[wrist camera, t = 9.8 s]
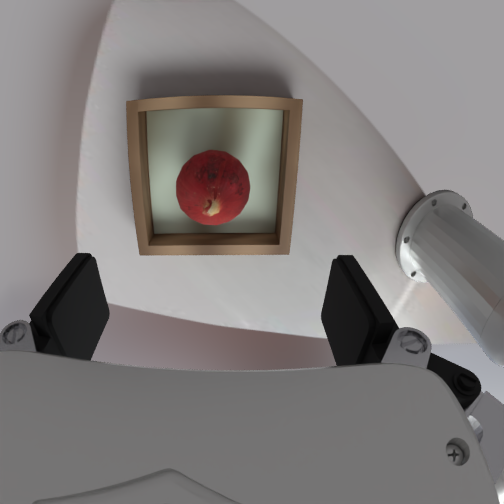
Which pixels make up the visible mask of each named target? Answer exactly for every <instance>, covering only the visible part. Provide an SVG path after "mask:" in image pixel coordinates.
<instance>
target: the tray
mask: <svg viewBox="0 0 504 504" xmlns="http://www.w3.org/2000/svg"><path fill="white" fill-rule="evenodd" d="M302 105H303V99H293V98H280V97H264V96H235V95H208V96H180V97H164V98H152V99H142V100H132V101H126V110H127V139H128V157H129V170H130V182H131V192H132V202H133V210H134V219H135V226H136V234H137V241H138V247H139V254H140V255H289V252H290V243H291V234H292V224H293V214H294V204H295V194H296V183H297V172H298V160H299V147H300V134H301V120H302ZM207 150H219V151H226V152H227V153H229V154H231V155H232V156H234V157H235V158H237V159H238V160H240V162H241V163H242V165H243V166H244V167H245V169H246V170H247V172H248V175H249V180H250V193H249V200H248V202H247V204H246V205H245V207H244V209H243V210H242V212H241V213H240V214H239V215H238V216H236V217H235V218H234V219H232V220H231V221H229V222H226V223H223V224H219V225H204V224H201V223H199V222H196V221H194V220H192V219H190V218H189V217H188V216H187V215H186V214H185V213H184V212H183V211H182V210H181V209H180V206H179V203H178V200H177V197H176V180H177V177H178V175H179V173H180V170H181V168H182V166H183V165H184V164H185V163H186V162H187V161H188V160H189V159H190V158H191V157H192V156H193V155H196V154H199V153H201V152H204V151H207Z"/></svg>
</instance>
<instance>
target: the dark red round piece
mask: <svg viewBox="0 0 504 504" xmlns="http://www.w3.org/2000/svg"><path fill="white" fill-rule="evenodd" d="M249 193H250V180H249V175H248V172H247V170H246V169H245V167H244V166H243V165H242V163H241V162H240V160H238V159H237V158H235V157H234V156H232V155H231V154H229V153H227V152H226V151H219V150H207V151H204V152H201V153H199V154H196V155H193V156H192V157H191V158H190V159H189V160H188V161H187V162H186V163H185V164H184V165H183V166H182V168H181V170H180V173H179V175H178V177H177V180H176V197H177V200H178V203H179V206H180V209H181V210H182V211H183V212H184V213H185V214H186V215H187V216H188V217H189V218H190V219H192V220H194V221H196V222H199V223H201V224H204V225H219V224H223V223H226V222H229V221H231V220H232V219H234V218H235V217H236V216H238V215H239V214H240V213H241V212H242V210H243V209H244V207H245V205H246V204H247V202H248V200H249Z"/></svg>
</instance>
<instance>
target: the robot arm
mask: <svg viewBox="0 0 504 504" xmlns="http://www.w3.org/2000/svg"><path fill="white" fill-rule="evenodd" d="M396 257H397V261H398V264H399V266H400V268H401V270H402V271H403V272H404V273H405V275H406V276H407V277H408V278H410V279H411V280H414V281H416V282H429V283H430V285H431V286H432V287H433V288H434V289H435V290H436V292H437V293H438V294H439V295H440V296H441V297H442V299H443V300H444V301H445V302H446V303H447V305H448V306H449V307H450V308H451V310H452V311H453V312H454V313H455V315H456V316H457V317H458V318H459V320H460V321H461V322H462V323H463V325H464V326H465V327H466V328H467V330H468V331H469V332H470V334H471V335H472V336H473V338H474V339H475V340H476V342H477V343H478V344H479V346H480V347H481V348H482V349H483V351H484V352H485V354H486V355H487V356H488V357H489V359H490V360H491V361H492V362H494V363H495V364H497V365H498V366H501V367H504V240H502V239H501V238H500V237H498V236H497V235H496V234H494V233H493V232H492V231H490V230H489V229H488V228H486V227H485V226H483V225H482V224H481V223H479V222H478V221H476V220H475V219H473V215H472V211H471V208H470V206H469V204H468V202H467V201H466V200H465V199H464V198H463V197H462V196H460V195H459V194H457V193H455V192H453V191H449V190H439V191H436V192H433V193H430V194H428V195H427V196H425V197H423V198H422V199H421V200H420V201H419V202H418V203H416V204H415V206H414V207H413V208H412V209H411V210H410V212H409V213H408V215H407V216H406V218H405V219H404V221H403V224H402V226H401V228H400V231H399V234H398V238H397V244H396ZM29 316H30V318H31V322H30V323H28V322H27V321H23V320H17V321H14V322H12V323H10V324H8V325H7V326H6V327H5V328H4V329H3V330H2V331H1V333H0V504H504V405H503V404H502V403H501V402H500V401H498V400H497V399H496V398H495V397H494V396H492V395H491V394H490V393H489V392H487V391H486V392H485V393H483V392H481V384H480V381H479V379H478V378H477V377H476V375H475V374H474V373H472V372H471V371H469V370H467V369H465V368H463V367H461V366H458V365H456V364H454V363H452V362H450V361H447V360H446V359H444V358H441V357H439V356H437V355H435V354H433V353H431V342H430V340H429V338H428V337H427V336H426V335H425V334H424V333H423V332H421V331H419V330H417V329H414V328H410V327H404V328H400V329H399V327H398V326H397V324H396V322H395V320H394V319H393V317H392V315H391V314H390V312H389V310H388V309H387V307H386V306H385V304H384V302H383V301H382V299H381V298H380V296H379V294H378V293H377V291H376V290H375V288H374V286H373V285H372V283H371V282H370V280H369V279H368V277H367V276H366V274H365V273H364V271H363V270H362V268H361V267H360V265H359V264H358V262H357V261H356V259H355V258H354V256H353V255H338V257H337V259H333V261H332V265H331V270H330V275H329V280H328V285H327V290H326V294H325V299H324V304H323V308H322V313H321V320H322V323H323V326H324V329H325V332H326V335H327V338H328V341H329V344H330V346H331V349H332V352H333V355H334V359H335V362H336V365H337V366H331V367H319V368H303V369H285V370H246V371H244V370H241V371H240V370H234V371H232V370H229V371H228V370H190V369H170V368H156V367H142V366H132V365H122V364H113V363H105V362H97V361H90V360H91V358H92V355H93V353H94V351H95V348H96V346H97V344H98V341H99V339H100V336H101V335H102V332H103V330H104V328H105V325H106V323H107V321H108V319H109V308H108V304H107V301H106V297H105V294H104V290H103V286H102V283H101V279H100V275H99V271H98V267H97V263H96V259H95V257H92V255H91V254H90V253H77V254H76V255H75V256H74V257H73V258H72V260H71V261H70V262H69V263H68V264H67V266H66V267H65V268H64V269H63V271H62V272H61V273H60V274H59V276H58V277H57V278H56V279H55V281H54V282H53V283H52V285H51V286H50V287H49V289H48V290H47V291H46V292H45V294H44V295H43V297H42V298H41V299H40V301H39V302H38V303H37V305H36V306H35V308H34V309H33V310H32V312H31V313H30V315H29Z"/></svg>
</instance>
